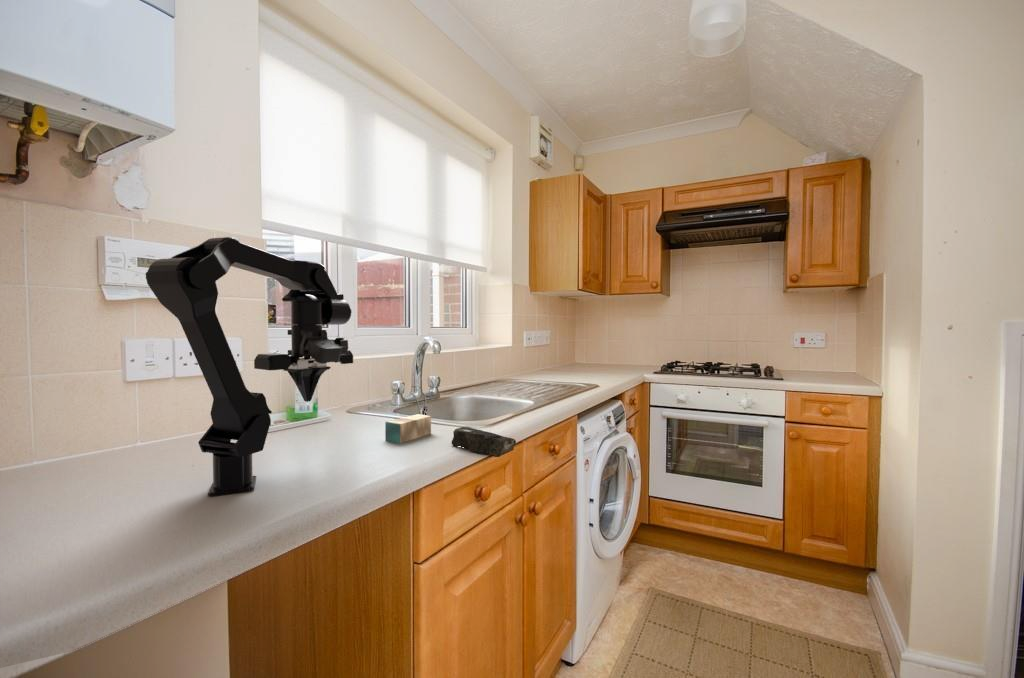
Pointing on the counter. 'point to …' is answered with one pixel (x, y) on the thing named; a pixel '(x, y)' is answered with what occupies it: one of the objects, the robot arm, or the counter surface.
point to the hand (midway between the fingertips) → (307, 401)
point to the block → (407, 428)
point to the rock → (483, 441)
